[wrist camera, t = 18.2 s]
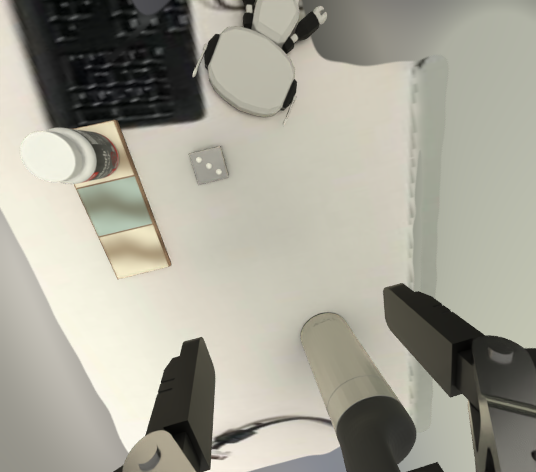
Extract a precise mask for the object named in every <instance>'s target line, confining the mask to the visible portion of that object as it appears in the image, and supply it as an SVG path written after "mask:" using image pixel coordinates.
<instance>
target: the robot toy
mask: <svg viewBox="0 0 536 472" xmlns="http://www.w3.org/2000/svg"><path fill="white" fill-rule="evenodd" d="M243 2H244V4H245V6H246V13H245V14H244V16H243V26H244V28H243V27H238V26H234V27H227V28H226V29H225V30H224V31H223V32H222V33H221V34H215V35H214V36H213V38H212V39H211V40H210V41H209V43H208V45H207V44H205V45H204V47H203V52H202V54H201V57H200V59H199V61H198V64H197V66H196V68H195V69H194V72H193V77H194V76H195V75H196V73H197V70H198V67H199V65H200V63H201V60H202V58H203V56H204V59H205V68H206V69H207V70H208V74H209V81H210V83H211V85H212V87H213V88H214V90H215V91H216V92H217V93H218V94H219V95H220V96H221V97H222V98H223V99H224V100H225V101H227V102H228V103H229V104H231V105H232V106H233V107H235V108H236V109H237V110H240V111H243V112H246V113H249V114H252V115H255V116H260V117H268V116H273V115H274V114H276V113H277V112H278V111H279V110H284V109H285V108H287V107H288V106H289V105H290V104H291V106H290V108H289V111H288V113H287V116H286V118H285V120H284V123H283V126H284V125H285V124H286V122H287V118H288V116H289V113H290V111H291V108H292V106H293V103H294V102H295V100H296V98H297V96H295V93H296V87H297V82H296V80H295V79H294V78H295V68H294V66H293V64H292V61H291V59H290V58H289V57H288V55H287V53H288V52H289V51H291V50H292V49H293V48H294V43H295V42H296V41H297V40H303V39H306V38H308V37H309V36H310V35H311V34H312V33H313V32H315V31H316V30H317V29H318V27H319V24H323V23H324V22H325V20H326V18H327V13H326V12H325V13H324V14H323V15H322V16H321V15H320V13H321V12H322V11H323V10H324V8H323V7H322V6H319V7H317V8H315V9H314V11H313V12H310V13H309V14H308V15H307V16H306V17H304V18H303V19H302V20H301V21H300V22H299V23H298V25H297V28H296V30H295V33H294V35H293V36H291V37H289V36H290V34H291V33H292V31H293V29H294V27H295V25H296V23H297V21H298V19H299V7H298V0H257V3H256V6H255V11H254V13H252V7H253V4H254V2H255V0H243ZM204 53H205V55H204Z"/></svg>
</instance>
